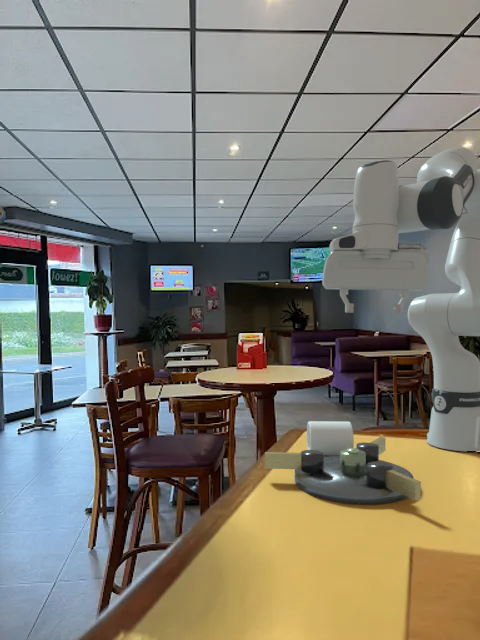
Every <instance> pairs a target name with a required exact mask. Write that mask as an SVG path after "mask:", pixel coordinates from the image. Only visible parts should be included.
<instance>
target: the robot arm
mask: <svg viewBox="0 0 480 640" xmlns="http://www.w3.org/2000/svg"><path fill="white" fill-rule="evenodd" d="M478 166H479V162H478V158H477V156H476V154H475V153H474V152H473V151H472V150H471V149H469V148H466V147H462V146H459V147H452V148H451V147H450V148H447V149H444V150H442V151H441V152H438V153H436V154H435V155H433V156H431V157H430V158H429V159H427V160H426V161H425V162H424V163H423V164H422V165H421V167H420V168H419V170H418V173H417V176H416V183H415V182H413V183H410V184H405V185H404V184H401V183H400V182H399V173H398V166H397V163H396V162H395V161H393V160H386V159H385V160H376V161H372V162H368V163H365V164H363V165H361V166H359V167H358V169H357V170H356V174H355V177H354V178H355V179H354V185H353V196H352V209H353V212H354V220H353V224H352V229H351V230H352V233H350V234H346V235H342V236H339V237H336V238H334V239H333V240H332V241H330V244H329V252H330V254H329V255H328V256H327V257H326V259H325V261H324V266H323V271H322V280H321V283H322V286H323V288H324V289H325V290H339V296H340V299H341V300H342V302H343V304H344V313H346V314H347V313H354V311H355V310H354V307H355V304H354V303H352V302H351V303H350V301H349V299H348V298H347V296H348V295H349V291H350V290H351V291H355V290H357V291H399V292H398V293H399V294H398V296H399V297H401V298H400V299H399V301H398V303H397V304H396V303H395V304H393V305H392V306H393V311H392V313H393V314H396V315H397V314H399V315H401V314H403V313H404V305H405V303H406V301H407V300H408V298H409V297H410V291H411V292H420V291H424V290H426V289H427V287H429V271H428V264H429V261H430V257H429V256H430V255H429V254H430V253H429V252H430V251H429V249H428V248H427V247H425V246H424V245H422V244H421V243H399V234H402V233H403V234H404V233H413V232H421V231H428V230H449V229H451V228H452V227H454V225H455V228H454V231H453V233H452V237H451V240H450V243H449V247H448V252H447V255H446V259H445V260H446V261H445V264H444V272H445V275H446V277H447V279H448V280H449V281H450V282H452V283H453V284H455V285H457V286H459V287H460V290H459V291H458V292H455V293H454V292H447V293H445V292H442V293H440V292H439V293H429V294H425V295H421V296H417V297H415V298H414V299H412V301H410V304H409V305H408V310H407V320H408V324H409V325H410V327H411V328H412V329H413V331H415V332H417V334H418V335H419V336H420V337H421V338H422V339H423V340H424V341H425V342H424V343H426V346H427V347H428V349H429V352H430V355H431V360H432V367H433V369H432V370H433V388H431V402H432V404H433V405H432V407H431V412H430V420H429V427H428V428H429V429H428V432H427V434H426V438H427V439H426V443H427V444H428V445H431V446H433V447H436V448H440V449H443V450H444V449H445V450H449V451H457V452H467V451H480V359H479V358H478V357H477V355H476V354H475V353H473V352H471V351H469V350H467V349H466V348H464V346H463V345H462V344H461V341H460V338H459V336H460V337H461V336H465V337H480V168H479V167H478Z"/></svg>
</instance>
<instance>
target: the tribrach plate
mask: <svg viewBox="0 0 480 640" xmlns="http://www.w3.org/2000/svg"><path fill="white" fill-rule="evenodd" d="M379 462H386V463H389V464H391V465H393V470H394V471H396V472H399V473H401V474H403V475H406V476H408V477H411V478H413V479H415V478H414V475H413V473H411V472H410V471H409V470H408V469H406V468H405V467H403V466H400V465H398V464H395V463H392V462H390V461H386V460H381V459H379ZM294 483H295V485H296V487H298V489H299V490H301V491H303V492H304V493H306V494H308V495H311V496H313V497H315V498H319V499H322V500H325V501H330V502H334V503H340V504H341V503H342V504H349V505H362V506H363V505H364V506H365V505H367V506H368V505H371V506H372V505H385V504H386V505H387V504H391V503H397V502H401V501H403V500H405V499H407V498H408V497H407V496H404V495H402V494H400V493H398V492H396V491H394V490H391V489H389V488H378V487H373V486H370V485H368V484H367V464H366V453H365V452H364V451H361V450H359V449H357V448H356V447H354V448H347V449H345V450H341V451H340V456H324V471H323V472H322V473H316V474H312V473H306V472H303V471H301V469H294Z"/></svg>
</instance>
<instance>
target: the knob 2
mask: <svg viewBox="0 0 480 640" xmlns="http://www.w3.org/2000/svg"><path fill="white" fill-rule="evenodd" d="M355 448H357V449H359V450H361V451H364V452H365V453H366V464H367V463H369V462H375V461H378V462H379V460H380V459H379V458H380V455H382V454H383V453H384V452H385V451H386V437H385V436H379V437H378V438H376V439H374V440H373V441H370V442H358V443H356V447H355Z"/></svg>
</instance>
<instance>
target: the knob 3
mask: <svg viewBox="0 0 480 640" xmlns="http://www.w3.org/2000/svg"><path fill="white" fill-rule="evenodd" d="M386 462H387V461H386ZM386 462H378V461H375V462H369V463H367V484H368V485H370V486H373V487H378V488H389V489H391V490H394V491H396V492H398V493H400V494H402V495H404V496H407V498H409V499H411V500H413V501H421V498H422V496H421V495H422V493H421V492H422V483H421V482H422V481H420V480H418V479H415V478H414V479H413V478H411V477H408V476H406V475H403V474H401V473H399V472H396V471H394V470H393V465H391V464H389V463H386Z"/></svg>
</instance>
